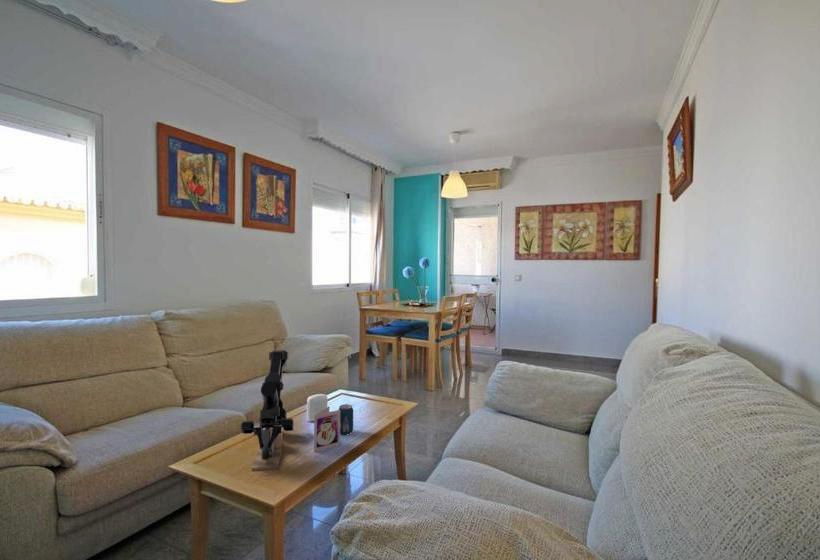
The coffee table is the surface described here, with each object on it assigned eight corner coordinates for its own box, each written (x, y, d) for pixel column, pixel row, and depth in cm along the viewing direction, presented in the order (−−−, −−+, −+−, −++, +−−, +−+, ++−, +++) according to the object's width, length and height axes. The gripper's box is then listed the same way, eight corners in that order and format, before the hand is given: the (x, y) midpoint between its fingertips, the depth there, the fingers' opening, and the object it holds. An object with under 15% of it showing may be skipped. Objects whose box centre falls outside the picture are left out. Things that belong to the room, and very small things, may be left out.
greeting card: (314, 452, 152) (315, 415, 152) (307, 445, 158) (308, 410, 158) (340, 445, 159) (341, 410, 159) (333, 439, 165) (333, 405, 165)
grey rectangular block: (264, 449, 152) (264, 439, 152) (275, 448, 153) (275, 438, 153) (261, 459, 144) (261, 448, 144) (272, 458, 145) (273, 447, 145)
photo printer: (325, 415, 192) (325, 391, 191) (328, 418, 188) (328, 394, 188) (305, 420, 186) (305, 395, 186) (308, 423, 182) (308, 397, 182)
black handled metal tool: (267, 443, 156) (268, 414, 156) (275, 442, 157) (275, 413, 156) (261, 462, 140) (261, 430, 140) (269, 462, 141) (269, 429, 140)
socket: (261, 443, 157) (262, 424, 157) (282, 442, 159) (282, 423, 159) (260, 448, 153) (260, 429, 153) (280, 447, 154) (281, 427, 154)
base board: (260, 445, 157) (260, 443, 157) (283, 444, 159) (283, 441, 159) (251, 470, 138) (251, 467, 138) (277, 468, 140) (277, 465, 140)
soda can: (347, 428, 177) (347, 402, 177) (356, 432, 172) (356, 406, 172) (334, 432, 172) (334, 406, 172) (343, 437, 167) (344, 410, 167)
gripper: (242, 400, 143) (234, 442, 132) (293, 397, 147) (290, 438, 137) (246, 413, 151) (239, 453, 140) (294, 410, 155) (292, 449, 144)
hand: (265, 448), depth 140 cm, fingers closed on black handled metal tool, 3 cm apart
